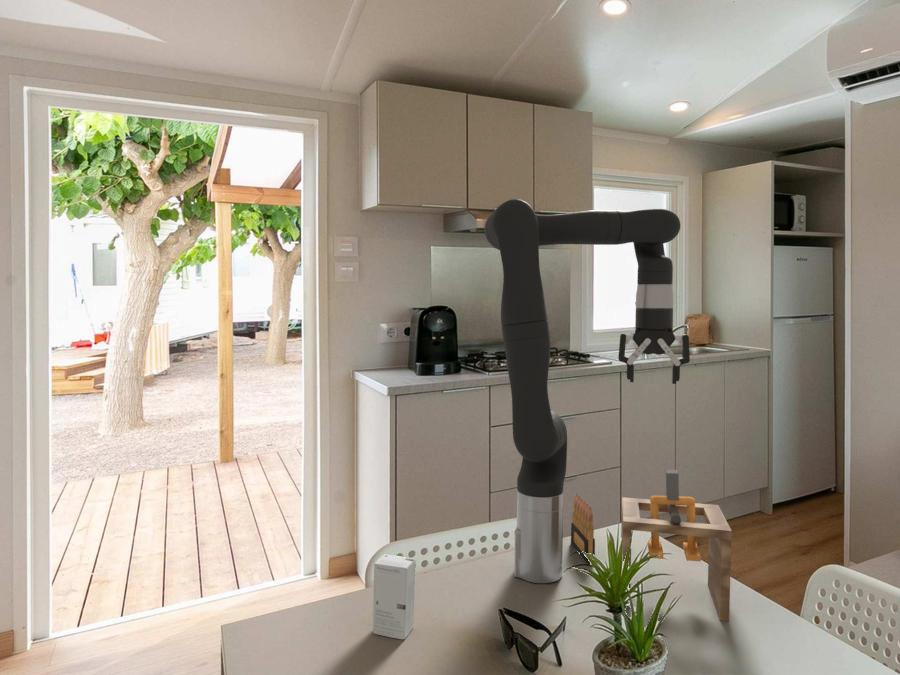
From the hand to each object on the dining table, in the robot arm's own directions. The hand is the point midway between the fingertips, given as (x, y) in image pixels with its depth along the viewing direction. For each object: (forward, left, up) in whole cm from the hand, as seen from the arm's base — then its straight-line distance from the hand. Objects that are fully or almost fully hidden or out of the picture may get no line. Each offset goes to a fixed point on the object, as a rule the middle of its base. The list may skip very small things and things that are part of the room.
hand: (652, 382), depth 131 cm
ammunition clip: (-14, -1, -38) cm, 41 cm away
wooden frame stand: (+3, -17, -38) cm, 42 cm away
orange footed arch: (+3, -17, -30) cm, 34 cm away
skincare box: (-43, -42, -38) cm, 71 cm away
